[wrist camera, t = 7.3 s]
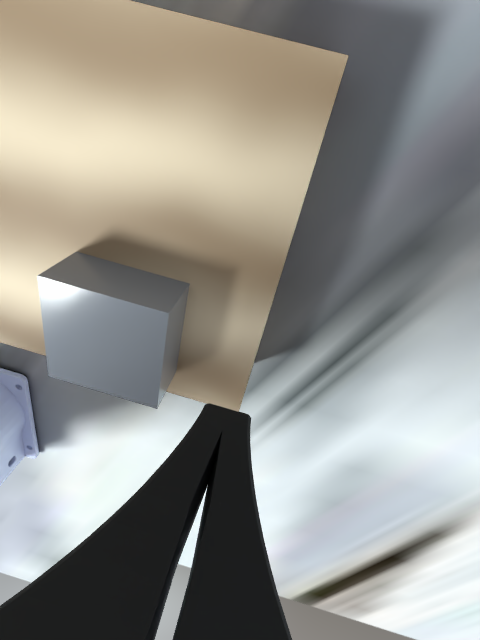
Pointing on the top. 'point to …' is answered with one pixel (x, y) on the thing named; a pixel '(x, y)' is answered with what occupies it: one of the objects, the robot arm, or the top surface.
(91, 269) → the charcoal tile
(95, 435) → the top surface
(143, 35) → the oak bench
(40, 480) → the top surface
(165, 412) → the top surface
